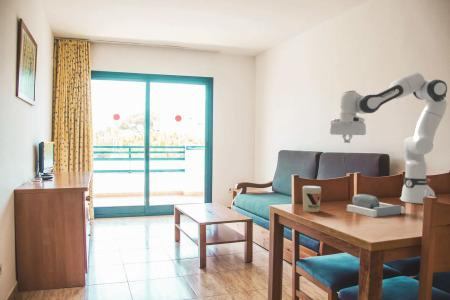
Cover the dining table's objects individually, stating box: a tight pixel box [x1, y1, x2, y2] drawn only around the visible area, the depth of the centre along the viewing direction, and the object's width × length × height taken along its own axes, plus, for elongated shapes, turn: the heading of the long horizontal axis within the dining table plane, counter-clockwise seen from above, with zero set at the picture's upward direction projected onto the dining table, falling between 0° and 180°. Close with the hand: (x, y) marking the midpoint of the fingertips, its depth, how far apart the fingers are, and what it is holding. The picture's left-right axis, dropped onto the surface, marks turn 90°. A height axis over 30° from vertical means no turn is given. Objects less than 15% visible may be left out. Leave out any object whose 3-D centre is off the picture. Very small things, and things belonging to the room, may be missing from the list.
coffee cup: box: [302, 185, 322, 213], centre depth 187 cm, size 9×9×12 cm
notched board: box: [346, 201, 405, 218], centre depth 187 cm, size 23×16×4 cm
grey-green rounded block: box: [352, 193, 380, 209], centre depth 190 cm, size 14×10×10 cm
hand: (347, 142), depth 216 cm, fingers closed
